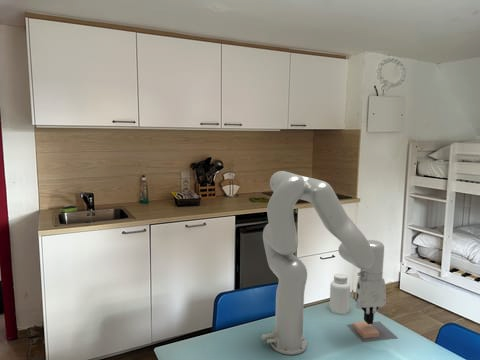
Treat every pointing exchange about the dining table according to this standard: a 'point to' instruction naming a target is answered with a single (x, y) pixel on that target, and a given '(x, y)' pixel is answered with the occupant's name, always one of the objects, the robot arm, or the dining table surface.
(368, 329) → the tile
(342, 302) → the pill bottle
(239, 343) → the dining table surface
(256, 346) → the dining table surface
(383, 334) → the mat
